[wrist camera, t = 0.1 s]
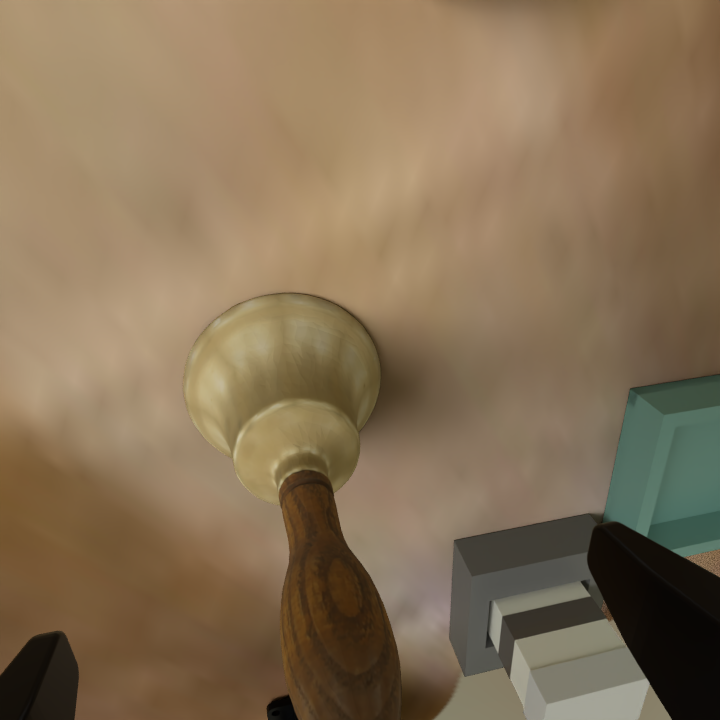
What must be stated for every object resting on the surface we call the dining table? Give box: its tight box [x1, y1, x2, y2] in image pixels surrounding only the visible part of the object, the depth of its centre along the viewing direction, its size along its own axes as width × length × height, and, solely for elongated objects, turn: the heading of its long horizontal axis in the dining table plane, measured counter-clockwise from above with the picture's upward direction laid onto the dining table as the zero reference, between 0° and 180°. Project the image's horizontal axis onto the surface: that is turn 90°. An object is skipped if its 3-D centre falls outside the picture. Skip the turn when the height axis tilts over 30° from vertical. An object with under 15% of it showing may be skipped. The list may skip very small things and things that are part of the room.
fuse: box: [487, 581, 650, 720], centre depth 30 cm, size 3×5×8 cm, turn 92°
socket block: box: [449, 514, 603, 677], centre depth 32 cm, size 8×8×2 cm
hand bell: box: [183, 293, 402, 720], centre depth 17 cm, size 8×8×16 cm
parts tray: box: [602, 374, 720, 557], centre depth 31 cm, size 10×10×2 cm
